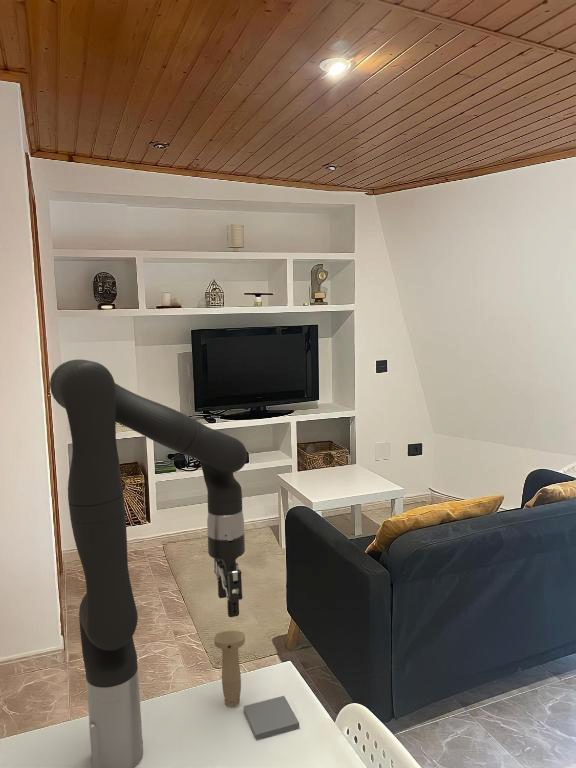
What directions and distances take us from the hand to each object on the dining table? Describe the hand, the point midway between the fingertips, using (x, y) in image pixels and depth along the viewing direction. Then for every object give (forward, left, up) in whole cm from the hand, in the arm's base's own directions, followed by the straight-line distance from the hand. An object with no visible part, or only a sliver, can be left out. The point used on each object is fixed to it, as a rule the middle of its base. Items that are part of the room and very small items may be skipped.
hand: (228, 606), depth 123 cm
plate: (+6, -8, -22) cm, 24 cm away
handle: (0, 0, -22) cm, 22 cm away
